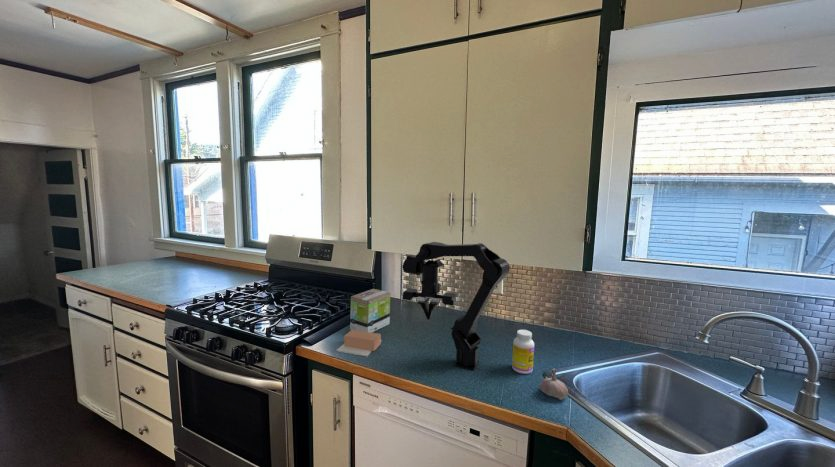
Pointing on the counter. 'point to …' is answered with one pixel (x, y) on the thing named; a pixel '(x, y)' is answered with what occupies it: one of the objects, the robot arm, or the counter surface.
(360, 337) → the block
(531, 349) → the supplement bottle
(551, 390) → the garlic bulb
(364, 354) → the mat
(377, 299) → the tea box
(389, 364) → the counter surface
